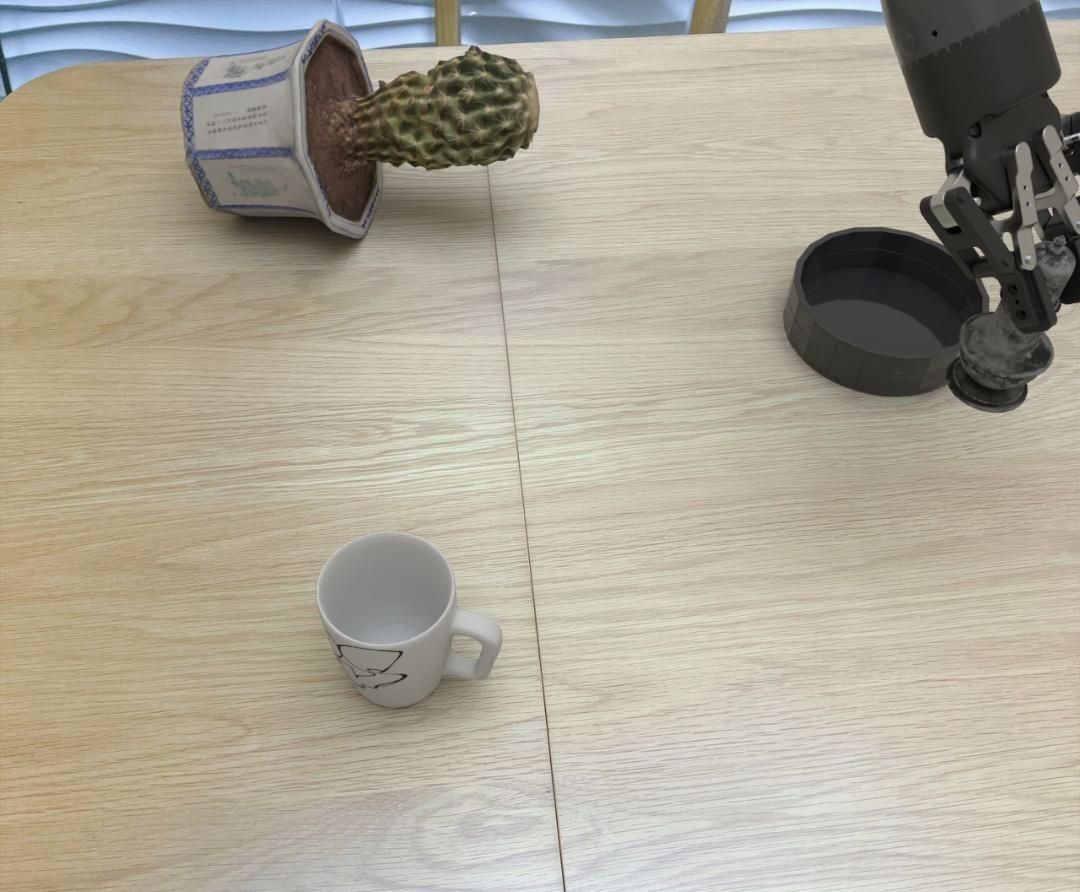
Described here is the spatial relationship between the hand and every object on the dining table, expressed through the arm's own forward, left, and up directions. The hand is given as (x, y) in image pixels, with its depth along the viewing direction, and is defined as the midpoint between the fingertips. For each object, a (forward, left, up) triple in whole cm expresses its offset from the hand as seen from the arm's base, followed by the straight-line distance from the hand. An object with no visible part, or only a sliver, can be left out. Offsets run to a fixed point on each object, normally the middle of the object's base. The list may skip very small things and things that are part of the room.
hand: (1059, 313), depth 65 cm
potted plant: (+13, -56, -22) cm, 62 cm away
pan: (-13, -17, -22) cm, 31 cm away
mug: (+38, -14, -22) cm, 46 cm away
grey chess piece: (0, -2, -8) cm, 8 cm away
